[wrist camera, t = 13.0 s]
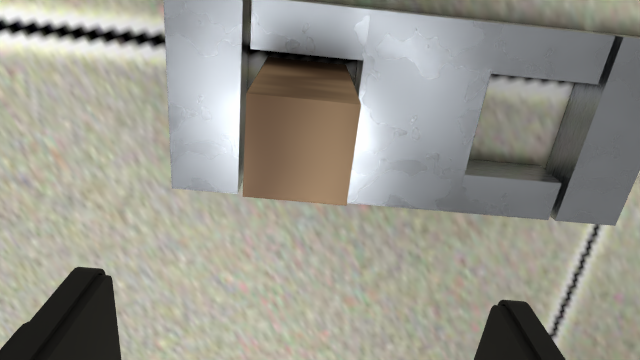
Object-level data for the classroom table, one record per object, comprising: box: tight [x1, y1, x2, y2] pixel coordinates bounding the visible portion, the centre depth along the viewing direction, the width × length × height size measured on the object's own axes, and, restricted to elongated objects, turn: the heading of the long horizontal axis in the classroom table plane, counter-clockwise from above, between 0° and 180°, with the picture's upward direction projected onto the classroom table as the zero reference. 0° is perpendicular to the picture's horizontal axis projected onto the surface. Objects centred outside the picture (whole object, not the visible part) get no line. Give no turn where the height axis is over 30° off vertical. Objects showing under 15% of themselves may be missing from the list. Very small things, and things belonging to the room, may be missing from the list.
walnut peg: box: [243, 56, 361, 205], centre depth 24 cm, size 5×5×10 cm
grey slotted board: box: [164, 0, 640, 226], centre depth 28 cm, size 30×12×3 cm, turn 84°
